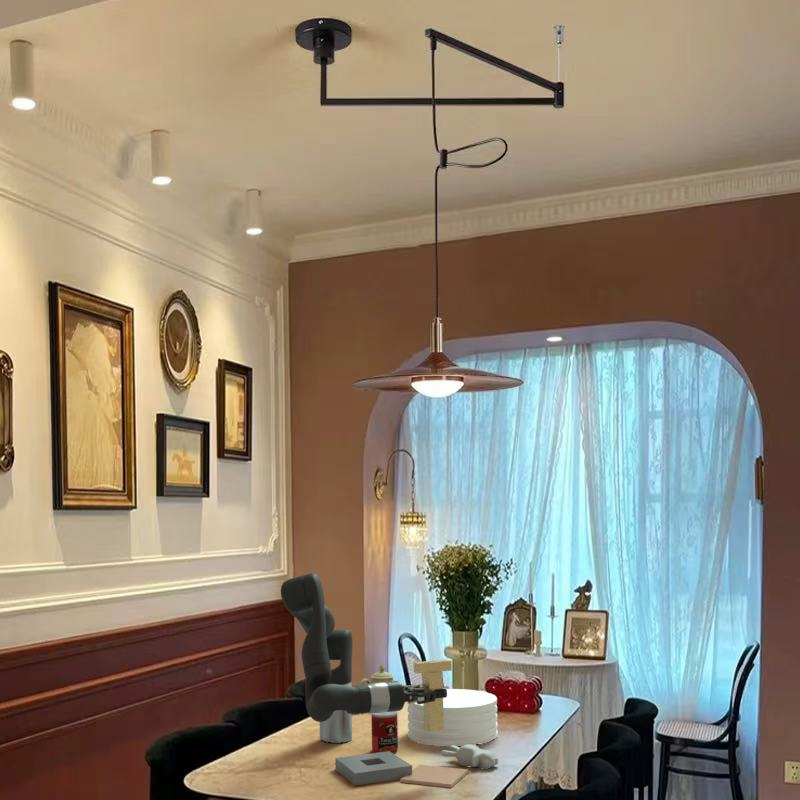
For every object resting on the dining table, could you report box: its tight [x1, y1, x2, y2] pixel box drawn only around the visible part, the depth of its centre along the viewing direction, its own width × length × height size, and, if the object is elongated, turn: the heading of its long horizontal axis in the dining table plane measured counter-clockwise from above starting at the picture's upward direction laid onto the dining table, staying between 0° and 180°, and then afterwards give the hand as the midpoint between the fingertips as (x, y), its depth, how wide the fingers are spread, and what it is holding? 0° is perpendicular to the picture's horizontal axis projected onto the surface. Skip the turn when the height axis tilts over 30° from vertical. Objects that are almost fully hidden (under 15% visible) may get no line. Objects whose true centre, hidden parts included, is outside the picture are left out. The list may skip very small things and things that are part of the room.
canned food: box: [371, 711, 399, 754], centre depth 272 cm, size 8×8×11 cm
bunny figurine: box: [440, 744, 499, 770], centre depth 256 cm, size 10×5×15 cm
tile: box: [400, 764, 469, 788], centre depth 244 cm, size 14×14×1 cm
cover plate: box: [334, 751, 413, 786], centre depth 249 cm, size 16×16×3 cm
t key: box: [413, 659, 453, 732], centre depth 247 cm, size 10×4×18 cm, turn 113°
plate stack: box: [407, 688, 499, 747], centre depth 289 cm, size 28×28×12 cm
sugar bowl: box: [358, 664, 395, 685], centre depth 329 cm, size 15×11×15 cm
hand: (442, 691), depth 248 cm, fingers closed on t key, 4 cm apart
